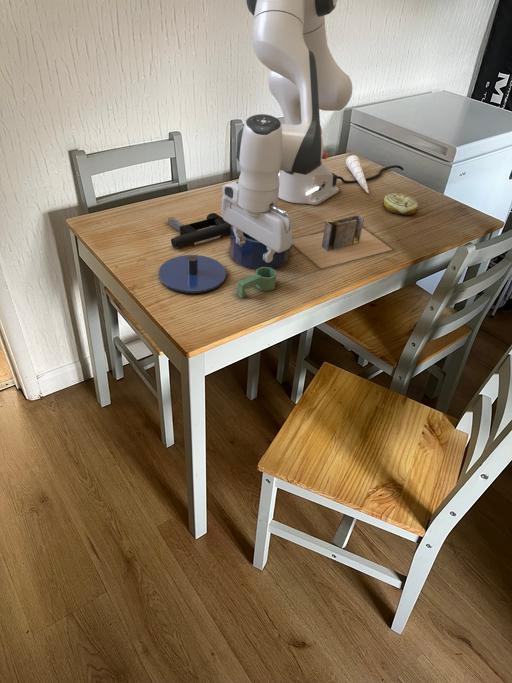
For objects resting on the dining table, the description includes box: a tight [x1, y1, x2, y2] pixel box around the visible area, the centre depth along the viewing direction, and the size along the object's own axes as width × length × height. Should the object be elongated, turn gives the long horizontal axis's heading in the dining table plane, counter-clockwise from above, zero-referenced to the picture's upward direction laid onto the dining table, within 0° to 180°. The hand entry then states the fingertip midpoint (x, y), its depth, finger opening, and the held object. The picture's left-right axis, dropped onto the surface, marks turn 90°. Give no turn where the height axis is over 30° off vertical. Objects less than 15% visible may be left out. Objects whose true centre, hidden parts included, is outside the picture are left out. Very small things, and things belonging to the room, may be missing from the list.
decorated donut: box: [382, 192, 419, 216], centre depth 172 cm, size 10×11×4 cm
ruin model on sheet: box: [291, 214, 393, 269], centre depth 150 cm, size 25×16×10 cm, turn 120°
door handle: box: [167, 212, 231, 249], centre depth 153 cm, size 3×20×16 cm
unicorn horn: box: [345, 154, 370, 194], centre depth 188 cm, size 5×24×5 cm, turn 3°
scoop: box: [237, 267, 277, 299], centre depth 132 cm, size 11×5×4 cm, turn 132°
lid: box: [158, 254, 227, 294], centre depth 134 cm, size 17×17×5 cm
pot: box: [229, 225, 294, 270], centre depth 144 cm, size 16×21×8 cm
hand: (253, 252), depth 125 cm, fingers open, 8 cm apart
